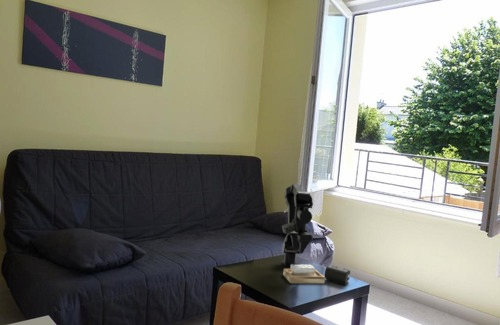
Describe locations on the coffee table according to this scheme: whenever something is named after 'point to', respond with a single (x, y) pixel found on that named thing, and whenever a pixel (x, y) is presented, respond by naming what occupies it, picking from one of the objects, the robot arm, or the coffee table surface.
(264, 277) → the coffee table surface
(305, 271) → the block
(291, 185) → the robot arm
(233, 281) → the coffee table surface
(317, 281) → the beech stand
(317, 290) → the coffee table surface
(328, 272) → the end cap
